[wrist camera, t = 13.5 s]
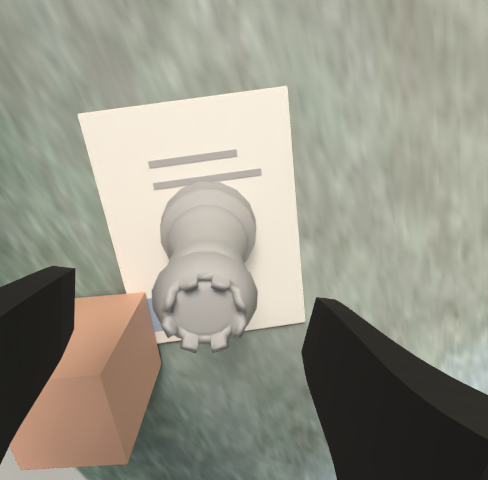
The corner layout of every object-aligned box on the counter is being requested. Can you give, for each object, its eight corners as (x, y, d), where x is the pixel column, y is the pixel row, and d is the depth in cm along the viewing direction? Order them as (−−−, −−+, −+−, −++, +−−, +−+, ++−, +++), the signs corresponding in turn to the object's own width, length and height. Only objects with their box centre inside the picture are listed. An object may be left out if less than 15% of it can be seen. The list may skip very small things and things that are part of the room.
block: (59, 299, 19) (-20, 383, 14) (144, 292, 19) (99, 375, 14) (82, 369, 21) (20, 470, 15) (161, 363, 21) (127, 464, 15)
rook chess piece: (195, 159, 17) (179, 213, 10) (273, 212, 18) (313, 298, 11) (144, 235, 18) (94, 336, 11) (220, 281, 19) (224, 400, 12)
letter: (79, 113, 16) (76, 114, 16) (285, 86, 16) (287, 85, 16) (141, 342, 21) (140, 346, 20) (303, 318, 21) (305, 322, 20)
